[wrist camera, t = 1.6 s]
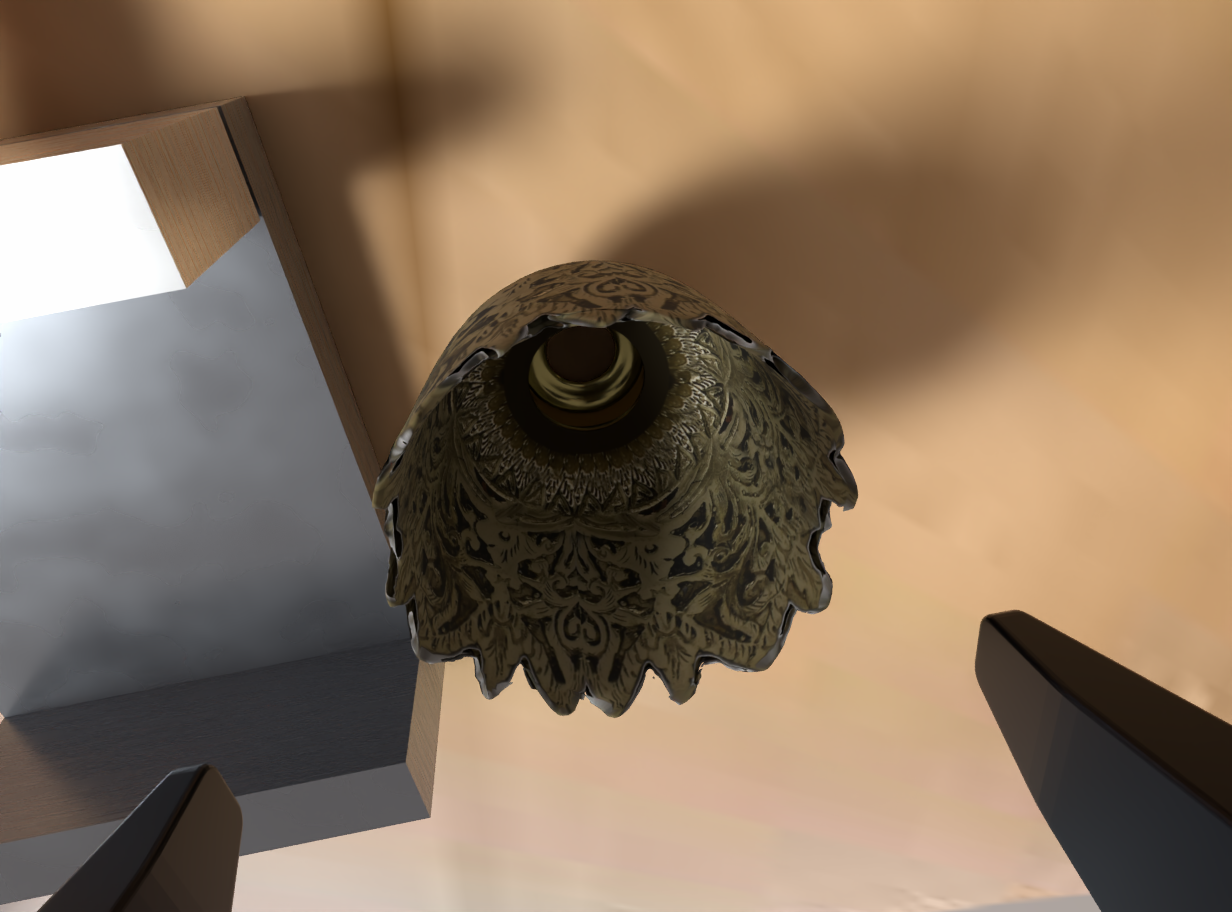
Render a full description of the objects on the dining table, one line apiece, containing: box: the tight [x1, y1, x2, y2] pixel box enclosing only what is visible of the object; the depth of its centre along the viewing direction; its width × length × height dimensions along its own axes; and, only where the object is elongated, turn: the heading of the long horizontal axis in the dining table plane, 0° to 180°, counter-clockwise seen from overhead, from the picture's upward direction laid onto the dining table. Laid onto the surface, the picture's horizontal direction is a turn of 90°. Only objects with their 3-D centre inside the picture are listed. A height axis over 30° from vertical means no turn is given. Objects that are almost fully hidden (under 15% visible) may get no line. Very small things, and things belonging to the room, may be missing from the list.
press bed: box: [0, 96, 445, 905], centre depth 17 cm, size 11×15×6 cm
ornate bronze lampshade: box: [372, 261, 858, 718], centre depth 15 cm, size 8×7×8 cm
